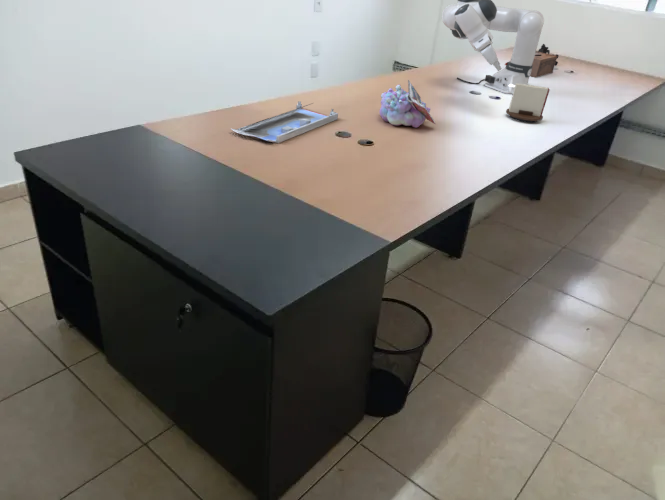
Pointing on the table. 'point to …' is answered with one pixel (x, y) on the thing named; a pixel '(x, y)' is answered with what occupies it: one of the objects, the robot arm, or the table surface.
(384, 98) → the lilac bumpy lump
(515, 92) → the upright block on disc
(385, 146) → the table surface
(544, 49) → the tablet mount
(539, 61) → the tissue box cover
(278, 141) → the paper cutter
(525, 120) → the stand base
